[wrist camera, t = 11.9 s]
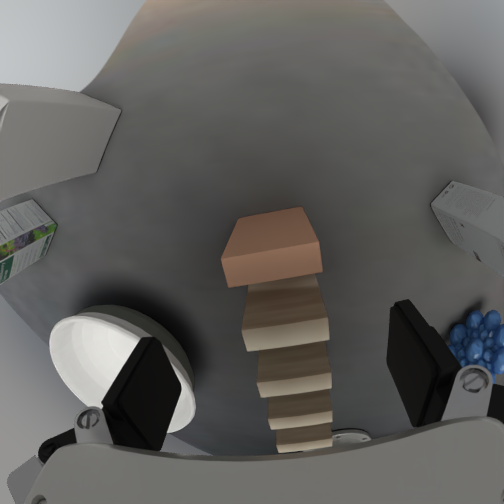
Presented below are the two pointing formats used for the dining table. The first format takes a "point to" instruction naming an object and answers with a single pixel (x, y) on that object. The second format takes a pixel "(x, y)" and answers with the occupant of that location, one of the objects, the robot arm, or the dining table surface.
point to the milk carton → (49, 136)
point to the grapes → (480, 342)
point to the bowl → (114, 354)
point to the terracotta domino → (271, 248)
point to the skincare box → (473, 222)
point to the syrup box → (23, 237)
